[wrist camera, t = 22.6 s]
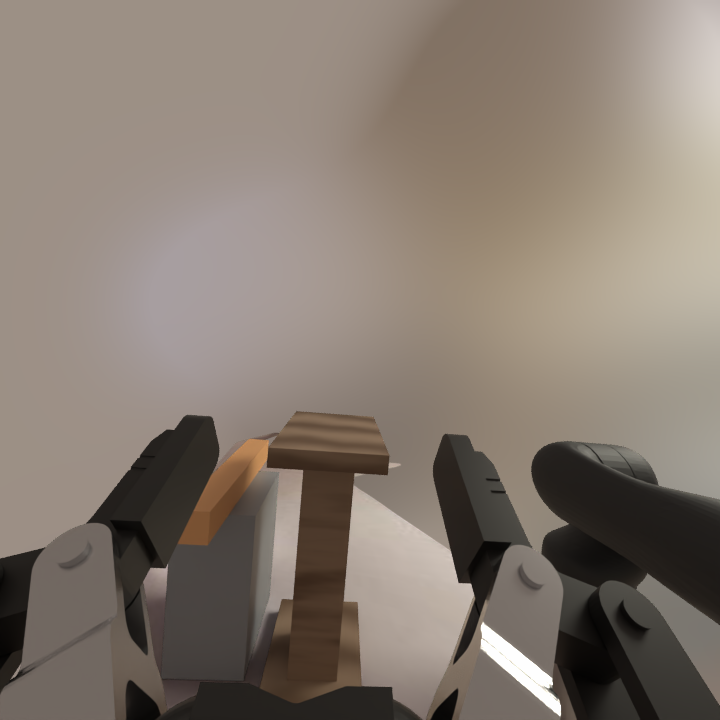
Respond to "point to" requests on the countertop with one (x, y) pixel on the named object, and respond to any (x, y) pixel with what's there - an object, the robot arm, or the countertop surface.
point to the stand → (321, 554)
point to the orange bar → (224, 492)
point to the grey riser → (221, 591)
